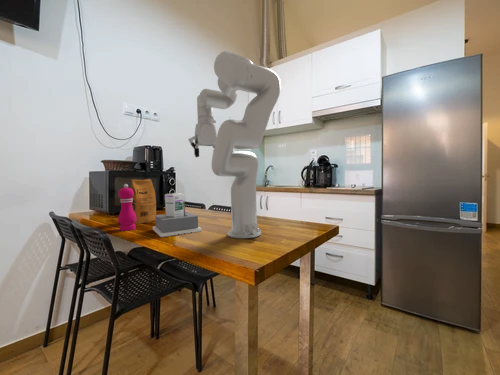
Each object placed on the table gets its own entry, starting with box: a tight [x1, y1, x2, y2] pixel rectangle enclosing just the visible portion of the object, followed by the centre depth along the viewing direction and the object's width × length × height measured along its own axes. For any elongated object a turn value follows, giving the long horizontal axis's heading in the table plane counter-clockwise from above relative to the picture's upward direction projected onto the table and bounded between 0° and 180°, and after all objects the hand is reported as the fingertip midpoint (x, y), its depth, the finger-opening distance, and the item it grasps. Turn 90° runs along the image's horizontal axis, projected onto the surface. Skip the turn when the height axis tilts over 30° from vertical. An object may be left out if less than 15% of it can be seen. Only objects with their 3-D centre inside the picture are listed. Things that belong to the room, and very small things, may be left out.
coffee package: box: [130, 178, 157, 225], centre depth 120 cm, size 10×12×22 cm
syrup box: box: [164, 192, 186, 218], centre depth 99 cm, size 6×6×14 cm
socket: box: [152, 211, 202, 238], centre depth 99 cm, size 16×16×6 cm
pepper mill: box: [117, 183, 137, 232], centre depth 103 cm, size 7×7×20 cm
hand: (206, 157), depth 114 cm, fingers open, 9 cm apart
